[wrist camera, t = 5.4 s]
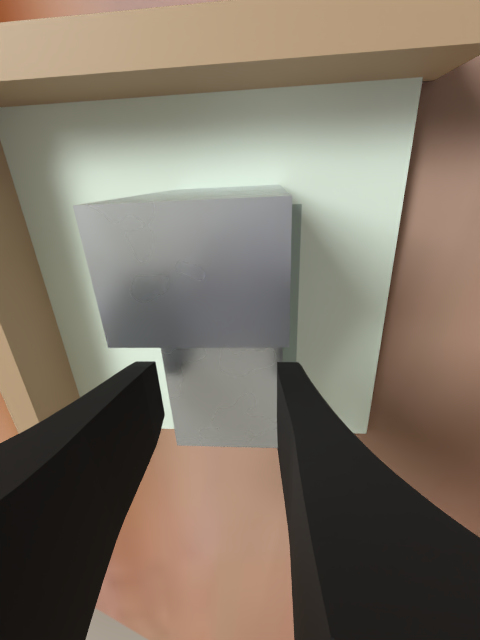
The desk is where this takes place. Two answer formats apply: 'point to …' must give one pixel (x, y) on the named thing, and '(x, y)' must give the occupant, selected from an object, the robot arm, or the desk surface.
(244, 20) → the corner arena
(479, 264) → the desk surface
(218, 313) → the bracket
